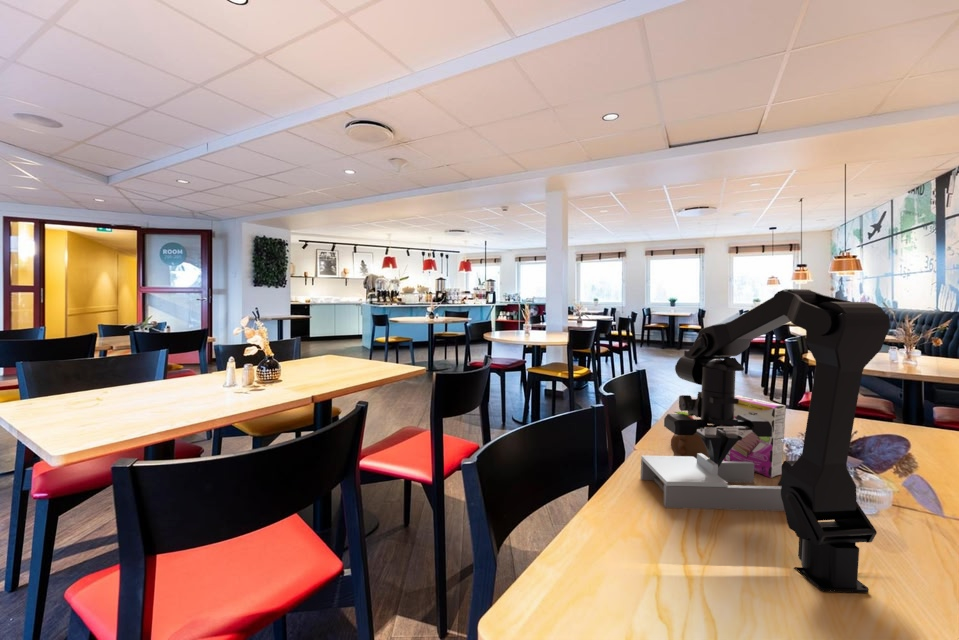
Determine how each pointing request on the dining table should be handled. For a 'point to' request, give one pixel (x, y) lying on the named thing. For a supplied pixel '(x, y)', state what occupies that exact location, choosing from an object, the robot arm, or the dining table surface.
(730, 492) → the housing
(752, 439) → the candy bar box
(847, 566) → the robot arm
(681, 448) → the mug
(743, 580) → the dining table surface
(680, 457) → the lid
